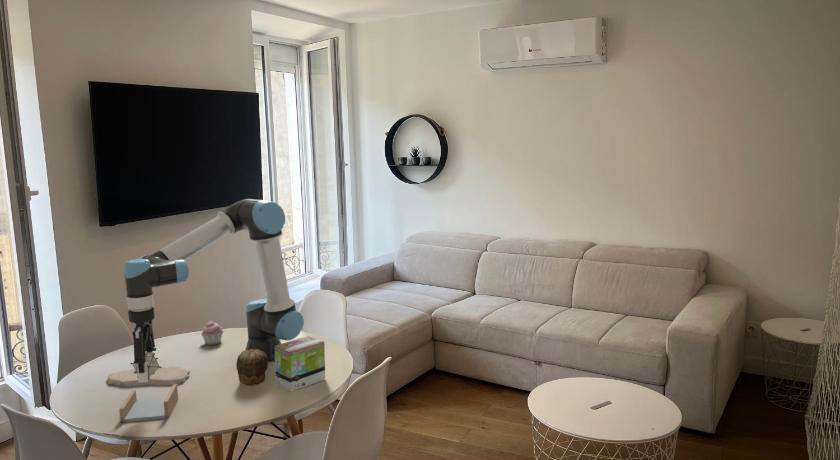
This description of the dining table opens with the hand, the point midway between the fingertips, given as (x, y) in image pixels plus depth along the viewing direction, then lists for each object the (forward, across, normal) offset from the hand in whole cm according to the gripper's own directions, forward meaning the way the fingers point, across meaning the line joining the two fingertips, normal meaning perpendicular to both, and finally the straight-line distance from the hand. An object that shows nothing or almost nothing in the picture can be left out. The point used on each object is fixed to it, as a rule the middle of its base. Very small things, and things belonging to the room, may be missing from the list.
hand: (147, 376), depth 201 cm
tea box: (+12, -13, +48) cm, 51 cm away
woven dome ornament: (+12, -17, +31) cm, 37 cm away
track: (+12, 0, 0) cm, 12 cm away
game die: (0, 0, 0) cm, 0 cm away
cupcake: (+12, -65, +10) cm, 67 cm away
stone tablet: (+12, -30, -7) cm, 33 cm away
